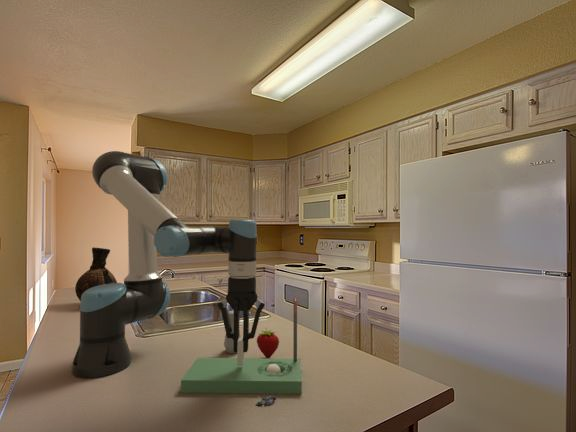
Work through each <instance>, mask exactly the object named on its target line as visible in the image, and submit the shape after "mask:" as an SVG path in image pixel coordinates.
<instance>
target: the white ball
mask: <svg viewBox="0 0 576 432" xmlns="http://www.w3.org/2000/svg"><path fill="white" fill-rule="evenodd" d="M266 372H268V373H281V370H280V367H279V366H278V365H276V364H271V365H269V366H268V367H267V369H266Z"/></svg>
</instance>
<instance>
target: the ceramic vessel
mask: <svg viewBox="0 0 576 432" xmlns="http://www.w3.org/2000/svg"><path fill="white" fill-rule="evenodd" d="M91 252H92V262H91V265H90V266H89V269H88V270H86V271H85V272H84V273H83V274H82V275H81V276H80V277H78V279H77V281H76V283H75V289H74V290H75V295H76V297H77V299H78V300H79V302H81V296H82V294H83V293H84V292H85V291H86V290H88V289H90V288H92V287H95V286H99V285H103V284H110V283H118V281H117V279H116V276H114V274H113V273H112V272H111V271H110V270H109V269H108V268H106V266H107V258H108V256H109V254H110V252H111V249H109V248H102V247H94V246H93V247H92V248H91Z"/></svg>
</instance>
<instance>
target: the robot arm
mask: <svg viewBox="0 0 576 432" xmlns="http://www.w3.org/2000/svg"><path fill="white" fill-rule="evenodd" d="M91 175H92V178H93V180H94V183H96V185H97V186H98V188H99V189H100V190H101V191H103V192H104V193H105V194H108V195H111V196H113V198H115V199H116V200H117V201H118V202H119V203H120V204H121V205H122V206H123V207H124V208H125V209H126V210H127V226H128V227H127V230H128V231H127V233H128V234H127V236H128V237H127V238H128V240H127V241H128V242H127V243H128V247H127V248H128V274H127V276H125V278H124V279H123V283H121V282H117V283H110V284H103V285H99V286H95V287H92V288H90V289H88V290H86V291H85V292H84V293H83V294H82V296H81V301H80V303H79V311H80V312H79V313H80V314H79V344H78V347H77V350H76V353H75V355H74V358H73V361H72V363H71V374H72V375H73V376H74V377H78V378H83V379H84V378H86V379H87V378H90V379H91V378H100V377H101V378H102V377H106V376H110V375H112V374H113V375H114V374H116V373H118V372H120V371H123V370H124V369H126V368H128V367H129V366H130V365H131V362H132V354H131V353H132V352H131V351H130V347H129V344H128V342H127V339H126V325H130V324H133V323H137V322H140V321H144V320H147V319H148V320H149V319H152V318H154V317H157V316H160V315H161V314H163V313H164V312H165V310H166V309H167V308H168V306H169V304H170V300H171V290H170V288H169V287H168V283H166V282H165V281H164V280H163V276H162V275H161V274H160V273H159V272H158V260H157V259H158V258H157V257H158V256H157V254H159V255H160V256H161V257H172V258H178V257H186V256H193V255H201V254H212V253H217V254H218V253H219V254H228V272H227V275H228V276H229V277H228V278H227V294H226V296H225V298H223V300H220V301H219V302H218V303H217V307H218V308H219V310H220V312H221V317H222V322H223V326H224V330H225V331H224V332H225V335H227V338H231V339H233V341H234V347H233V350H234V352H236V354H237V355H236V358H237V366H243V363H244V358H245V353H248V350H249V340H251V339H254V338H255V337H256V332H257V329H258V324H259V320H260V317H261V314H262V310H264V308H265V306H266V301H263V300H261V299H259V298H258V295H257V278H256V275H257V244H258V243H257V240H258V232H257V223H256V220H254V219H230V220H229V223H228V226H224V225H223V226H222V225H221V226H219V225H194V226H193V225H186V224H185V223H184V222H183V221H182V220H181V219H179V218H178V217H177V216H176V215H175V214H174V213H173V212H172V211H171V210H169V209H168V208H167V206H165V205H164V204H163V203H162V202H161V201H160V200H159V198H160V197H161V192H162V191H164V189H166V186H167V182H168V173H167V170H166V168H165V166H164V164H163V163H162V162H161V161H159V160H157V159H155V158H152V157H150V156H144V155H143V156H142V155H137V154H133V153H129V152H123V151H120V150H119V151H118V150H113V151H107V152H105V153H102V154H101V155H99V156H98V157H97V158H96V159H95V161H94V163H93V165H92V171H91ZM228 305H229V306H230V307H231V309H232V311H234V332H232V327H231V323H230V318H229V314H228V312H229V311H228ZM254 305H255V308H256V311H255V315H254V319H253V322H252V326H251V330H250V325H249V324H250V310H251V309H252V308H253V306H254ZM241 312H242V315H243V316H242V318H243V322H242V323H243V325H242V337H241V338H239V330H240V320H241V319H240V318H241ZM249 331H250V332H249Z"/></svg>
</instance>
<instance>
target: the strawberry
mask: <svg viewBox="0 0 576 432" xmlns="http://www.w3.org/2000/svg"><path fill="white" fill-rule="evenodd" d="M279 343H280V340H279V337H278V336H277V334H276V333H275V331H272V330H271V329H270V330H268V331H267V328H266V331H265V330H262V331H261V333H259V334H258V336H257V337H256V344H257V347H258V349H259V350H260V352H261V353H262V354H263V355H264V357H265V358H272V356H273V355H274V353H275V352H276V351H277V349H278V348H279Z"/></svg>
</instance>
